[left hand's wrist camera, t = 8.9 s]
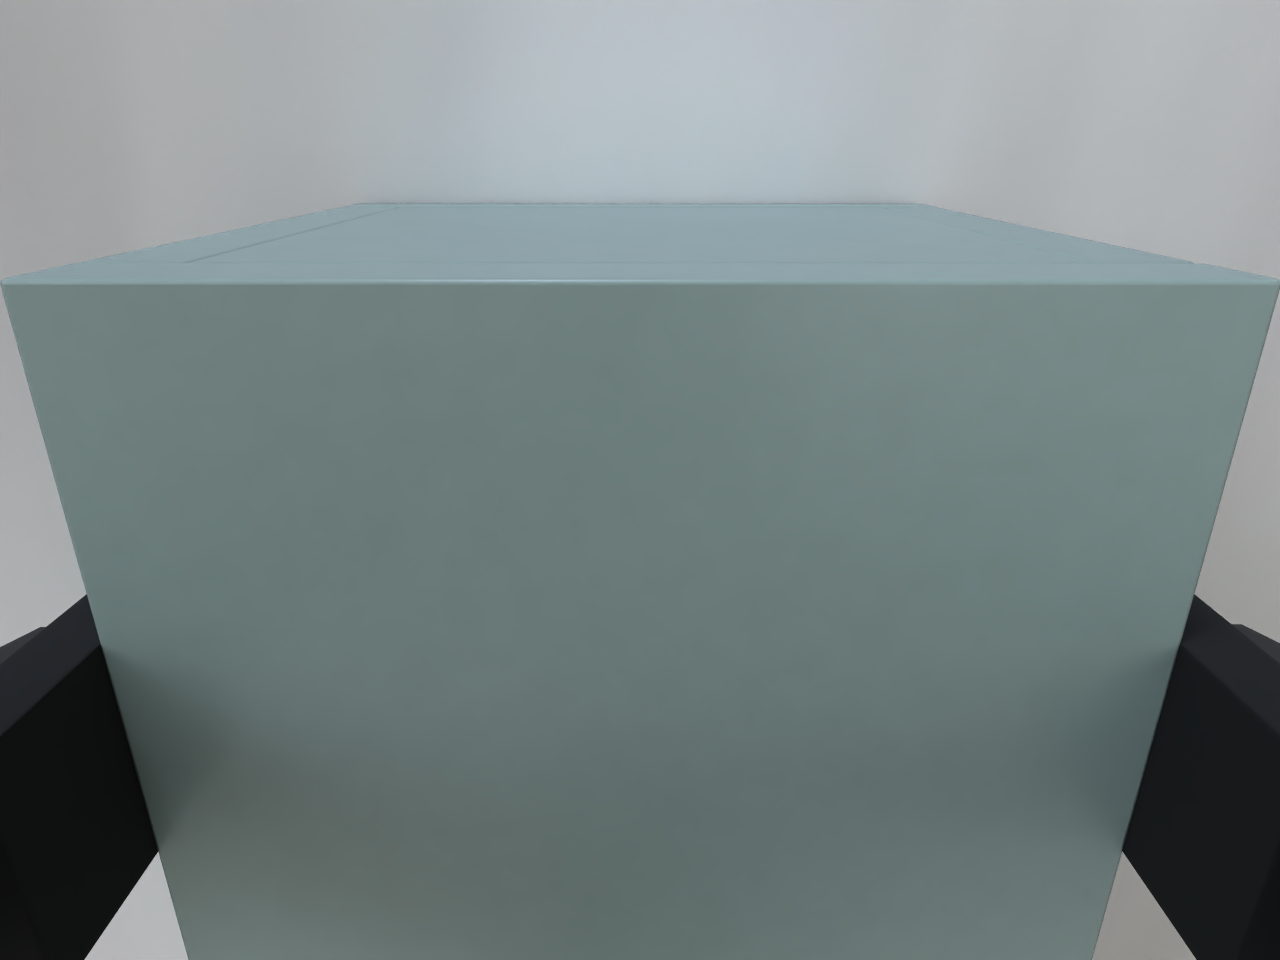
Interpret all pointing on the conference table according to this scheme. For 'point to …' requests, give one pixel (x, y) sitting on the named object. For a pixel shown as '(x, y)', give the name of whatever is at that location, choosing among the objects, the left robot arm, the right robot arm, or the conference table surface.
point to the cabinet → (640, 569)
